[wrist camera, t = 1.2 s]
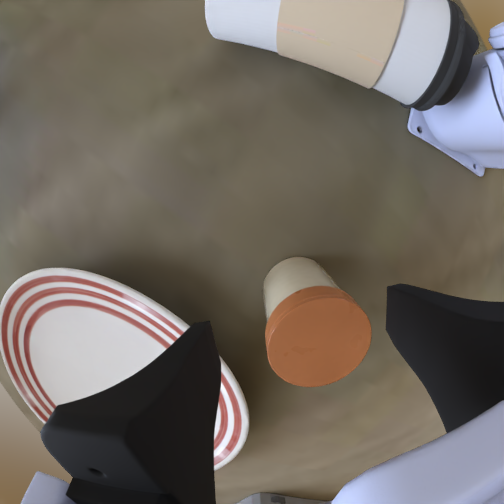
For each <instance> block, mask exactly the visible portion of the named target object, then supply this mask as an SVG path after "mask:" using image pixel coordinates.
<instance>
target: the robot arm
mask: <svg viewBox="0 0 504 504" xmlns="http://www.w3.org/2000/svg"><path fill="white" fill-rule="evenodd" d="M488 41H489V43H490V44H491V46H492V47H493V49H491V50H488V51H485V52H483V53H480V54H477V55H475V56H473V59H472V64H471V68H470V71H469V74H468V76H467V78H466V81H465V83H464V84H463V86H462V88H461V89H460V91H459V92H458V94H457V95H456V96H455V97H454V98H453V99H452V100H451V101H450V102H449V103H447V104H445V105H442V106H438V105H435V106H434V107H432V108H431V109H429V110H426V111H418V110H416V109H414V108H411V111H410V116H409V121H408V130H409V131H410V132H411V133H412V134H414V135H416V136H418V137H419V138H421V139H423V140H424V141H426V142H428V143H429V144H431V145H433V146H434V147H436V148H438V149H439V150H441V151H442V152H444V153H446V154H447V155H449V156H450V157H452V158H453V159H455V160H456V161H458V162H459V163H461V164H462V165H464V166H465V167H466V168H468V169H469V170H471V171H472V172H473V173H475V174H476V175H477V176H483V175H484V170H485V167H487V168H500V169H504V22H502V23H500V24H498V25H496V26H494V27H493V28H491V29H490V37H489V39H488ZM417 128H419V130H420V132H418V131H417ZM473 165H474V167H473ZM386 331H387V333H388V335H389V336H390V338H391V340H392V342H393V344H394V345H395V347H396V348H397V350H398V351H399V352H400V354H401V355H402V356H403V358H404V359H405V360H406V362H407V363H408V364H409V366H410V367H411V368H412V370H413V371H414V372H415V373H416V375H417V376H418V377H419V379H420V380H421V382H422V383H423V385H424V386H425V388H426V389H427V391H428V393H429V395H430V397H431V399H432V400H433V402H434V404H435V406H436V409H437V411H438V413H439V415H440V417H441V419H442V422H443V424H444V427H445V429H446V432H447V434H445V435H443V436H441V437H439V438H437V439H435V440H433V441H431V442H429V443H426V444H424V445H422V446H420V447H417V448H415V449H413V450H410V451H408V452H405V453H403V454H400V455H398V456H396V457H394V458H392V459H390V460H388V461H385V462H383V463H381V464H379V465H377V466H374V467H372V468H370V469H368V470H366V471H365V472H363V473H362V474H360V475H359V476H357V477H356V478H354V479H353V480H351V481H350V482H348V483H346V484H345V485H344V486H343V488H342V489H341V490H340V492H339V493H338V494H337V496H336V497H335V498H334V499H333V501H328V502H324V503H319V504H504V302H488V301H478V300H470V299H464V298H459V297H454V296H450V295H446V294H442V293H438V292H434V291H430V290H427V289H423V288H419V287H415V286H411V285H406V284H396V285H392V286H388V287H387V315H386ZM220 389H221V360H220V357H219V353H218V350H217V346H216V343H215V339H214V335H213V332H212V328H211V325H210V321H205V322H198V323H194V324H193V325H191V326H190V327H189V328H188V329H187V330H186V331H185V332H184V333H183V334H182V335H181V336H180V337H179V338H178V339H177V340H176V341H175V342H174V343H173V344H172V345H171V346H170V347H169V348H167V349H166V350H165V351H164V352H163V353H162V354H160V355H159V356H158V357H157V358H156V359H155V360H153V361H152V362H151V363H150V364H148V365H147V366H146V367H144V368H143V369H141V370H140V371H138V372H137V373H135V374H134V375H132V376H131V377H129V378H127V379H125V380H123V381H121V382H120V383H118V384H116V385H114V386H112V387H110V388H108V389H106V390H103V391H101V392H99V393H96V394H94V395H91V396H88V397H85V398H82V399H79V400H75V401H72V402H68V403H65V404H60V405H57V406H56V408H55V409H54V411H53V412H52V414H51V415H50V417H49V419H48V420H47V422H46V423H45V425H44V427H43V428H42V430H41V432H40V433H41V439H42V441H43V443H44V445H45V447H46V448H47V450H48V451H49V452H50V454H51V455H52V456H53V457H54V458H55V459H56V460H57V461H58V462H59V463H60V464H61V466H62V467H64V469H65V470H66V471H67V472H68V473H69V474H70V475H71V476H72V477H73V479H72V481H71V483H70V484H69V483H67V482H65V481H64V480H61V479H59V478H56V477H54V476H51V475H48V474H45V473H43V472H40V471H37V472H36V474H35V476H34V478H33V480H32V482H31V484H30V486H29V488H28V489H27V491H26V493H25V495H24V498H23V500H22V502H21V504H216V499H215V481H214V432H215V423H216V416H217V410H218V403H219V396H220Z"/></svg>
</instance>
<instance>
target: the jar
mask: <svg viewBox="0 0 504 504" xmlns="http://www.w3.org/2000/svg"><path fill="white" fill-rule="evenodd" d="M312 286H330V287H335V288H338V289H340V288H339V286H338V285H337V284H336V283H335V281H334V280H333V279H332V278H331V276H330V275H329V274H328V273H327V272H326V270H325V269H324V268H323V267H322V266H321V265H320V264H319V263H318V262H316V261H314V260H312V259H309V258H305V257H293V258H289V259H286V260H283V261H281V262H280V263H278V264H277V265H275V266H274V267H273V268H272V269H271V270H270V272H269V273H268V274H267V276H266V278H265V280H264V284H263V290H262V291H263V300H264V307H265V313H266V320H267V322H268V320H269V317H270V315H271V314H272V312H273V311H274V309H275V308H276V307H277V306H278V304H279V303H281V302H282V301H283V300H284V299H285V298H286V297H288V296H289V295H291V294H293V293H294V292H296V291H299V290H301V289H304V288H307V287H312ZM340 290H341V289H340Z"/></svg>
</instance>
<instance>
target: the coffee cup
mask: <svg viewBox="0 0 504 504" xmlns="http://www.w3.org/2000/svg"><path fill="white" fill-rule="evenodd" d="M205 16H206V22H207V26H208V29H209V31H210V33H211V34H212V36H213V37H215V38H216V39H221V40H226V41H231V42H236V43H241V44H246V45H250V46H254V47H258V48H262V49H266V50H270V51H274V52H277V53H278V54H279V55H281V56H284V57H288V58H291V59H294V60H297V61H300V62H303V63H306V64H309V65H312V66H315V67H317V68H320V69H323V70H326V71H328V72H331V73H333V74H336V75H338V76H341V77H343V78H346V79H348V80H350V81H353V82H355V83H357V84H359V85H362V86H364V87H366V88H368V89H369V88H371V87H372V88H374V89H376V90H378V91H380V92H382V93H384V94H386V95H388V96H390V97H392V98H394V99H396V100H398V101H400V104H401V105H402V106H403V107H404V108H414V109H416V110H418V111H426V110H429V109H431V108H432V107H434V106H435V105H438V106H442V105H445V104H447V103H449V102H450V101H451V100H452V99H453V98H454V97H455V96H456V95H457V94H458V92H459V91H460V89H461V88H462V86H463V84H464V83H465V81H466V78H467V76H468V74H469V71H470V68H471V64H472V59H473V54H474V53H475V52H476V50H477V49H478V47H479V41H478V37H477V35H476V33H475V31H474V30H473V29H472V28H471V27H470V26H469V24H468V23H467V22H466V21H465V20H464V16H463V13H462V11H461V9H460V8H459V6H458V5H457V4H456V3H454V2H452V1H450V0H205Z"/></svg>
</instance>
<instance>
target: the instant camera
mask: <svg viewBox="0 0 504 504" xmlns="http://www.w3.org/2000/svg"><path fill="white" fill-rule="evenodd" d="M324 502H328V501H320V500H311V499H303V498H295V497H289V496H283V495H277V494H272V493H258V494H254V495H251V496H249V497H247V498H245V499H244V500H242V501H240V502H238V503H236V504H319V503H324Z"/></svg>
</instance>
